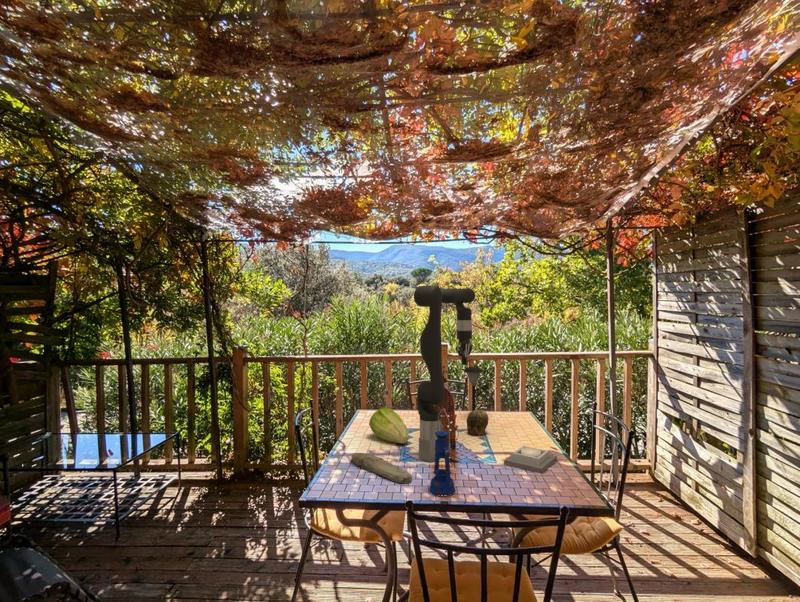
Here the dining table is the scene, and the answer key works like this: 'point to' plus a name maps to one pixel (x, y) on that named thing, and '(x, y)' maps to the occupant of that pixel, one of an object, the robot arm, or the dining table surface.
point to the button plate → (531, 461)
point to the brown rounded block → (477, 422)
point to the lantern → (442, 480)
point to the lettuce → (388, 426)
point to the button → (531, 451)
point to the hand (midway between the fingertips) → (464, 364)
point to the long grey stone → (381, 467)
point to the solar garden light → (473, 380)
